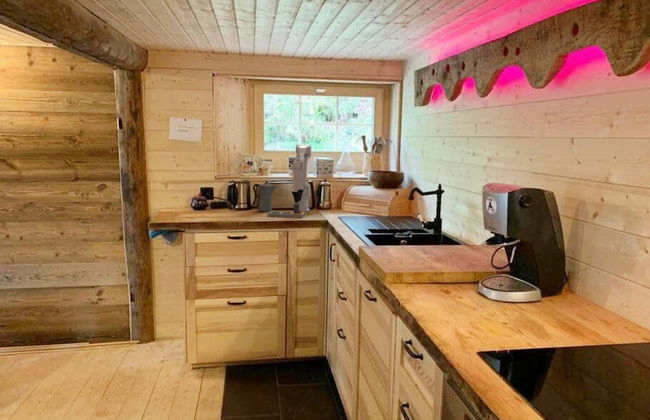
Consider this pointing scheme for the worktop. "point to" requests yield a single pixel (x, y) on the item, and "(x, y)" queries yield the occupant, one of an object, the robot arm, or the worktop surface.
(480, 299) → the worktop surface
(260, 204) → the moka pot
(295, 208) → the block
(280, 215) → the grey rectangular frame
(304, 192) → the robot arm
